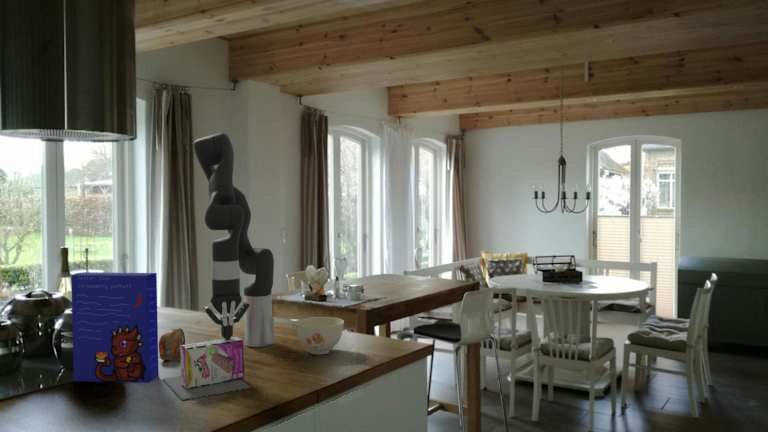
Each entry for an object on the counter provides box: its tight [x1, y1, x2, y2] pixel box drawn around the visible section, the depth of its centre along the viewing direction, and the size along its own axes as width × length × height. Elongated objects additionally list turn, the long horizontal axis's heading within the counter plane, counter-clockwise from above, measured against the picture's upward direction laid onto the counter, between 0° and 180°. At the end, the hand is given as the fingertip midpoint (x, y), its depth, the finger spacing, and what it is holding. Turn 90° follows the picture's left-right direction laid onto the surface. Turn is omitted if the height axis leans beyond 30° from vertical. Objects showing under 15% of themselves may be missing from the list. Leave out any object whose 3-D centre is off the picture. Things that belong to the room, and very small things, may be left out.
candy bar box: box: [179, 336, 245, 389], centre depth 169 cm, size 11×5×16 cm
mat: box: [162, 375, 251, 401], centre depth 169 cm, size 18×20×1 cm
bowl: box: [294, 316, 345, 355], centre depth 202 cm, size 16×16×10 cm
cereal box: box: [70, 271, 160, 384], centre depth 174 cm, size 22×6×30 cm, turn 84°
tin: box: [158, 328, 186, 361], centre depth 197 cm, size 15×3×8 cm, turn 176°
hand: (227, 338), depth 172 cm, fingers closed
